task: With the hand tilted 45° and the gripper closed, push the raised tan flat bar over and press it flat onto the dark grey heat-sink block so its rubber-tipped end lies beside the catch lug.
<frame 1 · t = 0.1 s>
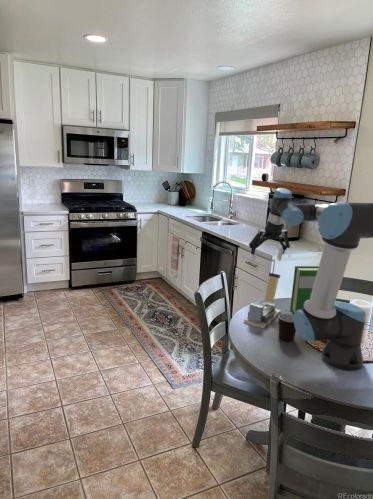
hand: (265, 259, 188), 28 cm above the table, tool tilted 20°, fingers open, 13 cm apart
tan flat bar: (272, 287, 193), point 13 cm above the table, hinge at -20.0°
heat-sink block: (263, 307, 186), on the birch board, point 6 cm above the table
hardback book: (309, 313, 196), on the table
birch board: (262, 317, 189), on the table
coffee mug: (287, 337, 169), on the table
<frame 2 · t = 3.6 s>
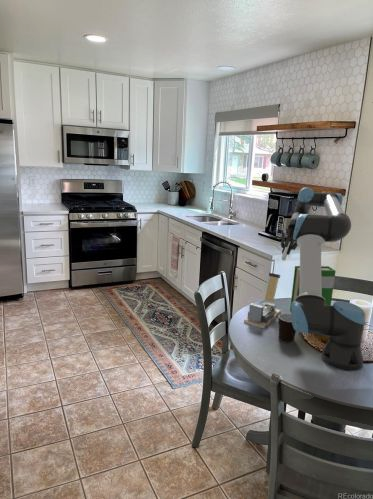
hand: (283, 258, 200), 25 cm above the table, tool tilted 45°, fingers closed
nothing on the table moved.
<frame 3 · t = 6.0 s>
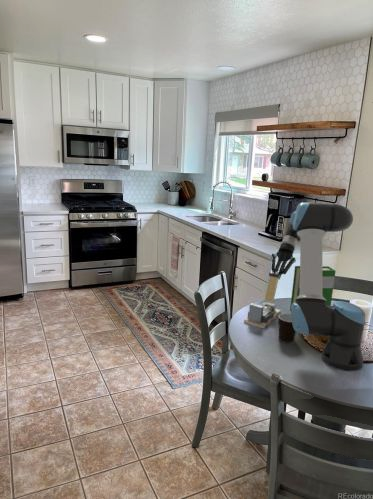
hand: (273, 283, 195), 14 cm above the table, tool tilted 45°, fingers closed
tan flat bar: (271, 287, 193), point 13 cm above the table, hinge at -19.9°, touching gripper
everything else where it was.
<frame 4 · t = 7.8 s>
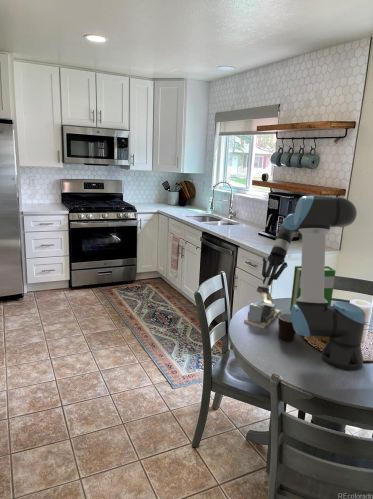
hand: (264, 290, 185), 14 cm above the table, tool tilted 45°, fingers closed
tan flat bar: (265, 295, 187), point 11 cm above the table, hinge at 48.3°, touching gripper
everything else where it was.
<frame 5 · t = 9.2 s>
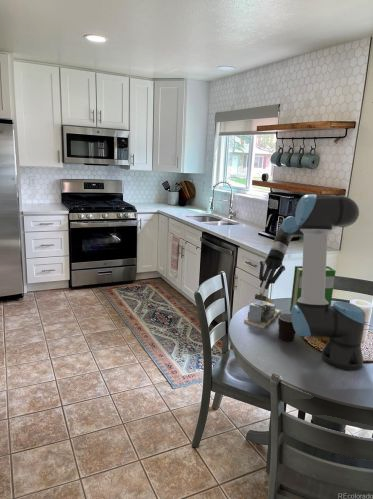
hand: (261, 294, 181), 14 cm above the table, tool tilted 45°, fingers closed
tan flat bar: (264, 299, 186), point 9 cm above the table, hinge at 65.1°, touching gripper
everything else where it was.
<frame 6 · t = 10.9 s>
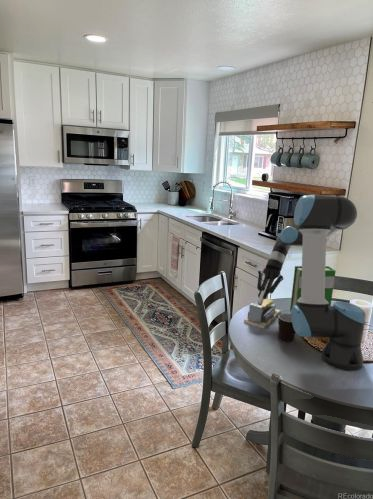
hand: (259, 303, 181), 9 cm above the table, tool tilted 45°, fingers closed
tan flat bar: (263, 305, 187), point 7 cm above the table, hinge at 87.9°, touching gripper
everything else where it was.
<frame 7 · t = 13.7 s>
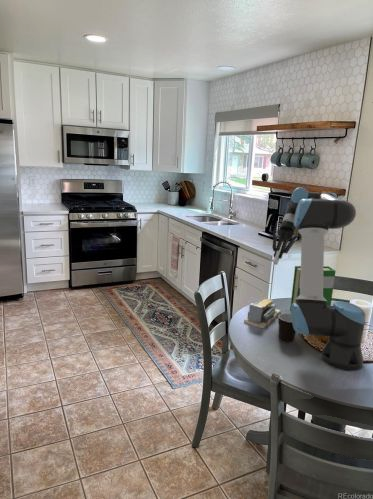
hand: (275, 263, 190), 26 cm above the table, tool tilted 45°, fingers closed
tan flat bar: (263, 305, 187), point 7 cm above the table, hinge at 87.9°
everything else where it was.
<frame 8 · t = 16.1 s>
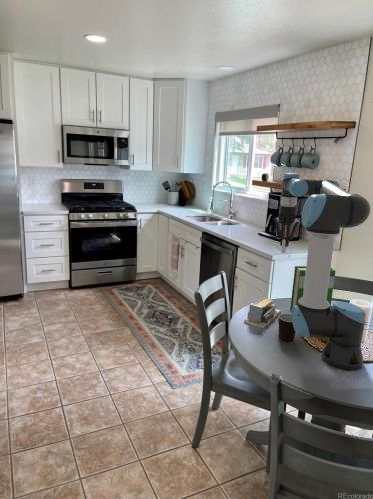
hand: (283, 252, 192), 30 cm above the table, tool pointing down, fingers closed
nothing on the table moved.
at the end: tan flat bar at +88° (first picture: -20°) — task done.
